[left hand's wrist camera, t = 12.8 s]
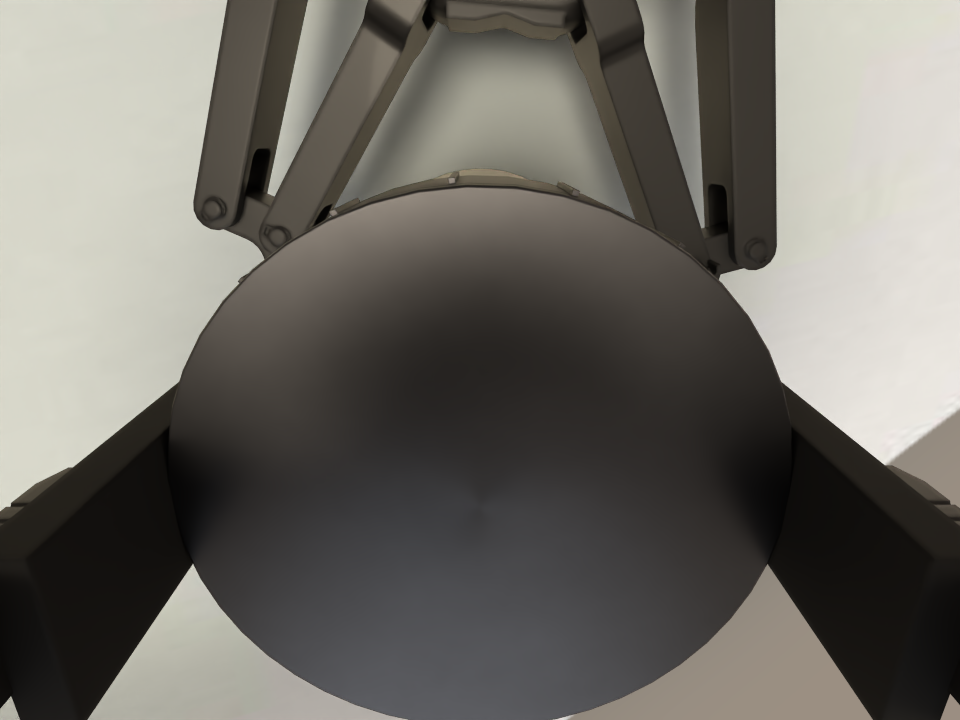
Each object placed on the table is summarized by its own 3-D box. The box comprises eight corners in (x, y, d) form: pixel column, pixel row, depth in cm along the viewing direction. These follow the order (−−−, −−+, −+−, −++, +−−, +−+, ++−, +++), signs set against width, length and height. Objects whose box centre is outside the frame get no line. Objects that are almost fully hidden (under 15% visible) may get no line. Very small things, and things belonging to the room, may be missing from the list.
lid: (634, 63, 10) (680, 39, 8) (791, 543, 13) (856, 628, 11) (117, 314, 11) (26, 359, 9) (377, 687, 15) (358, 788, 12)
